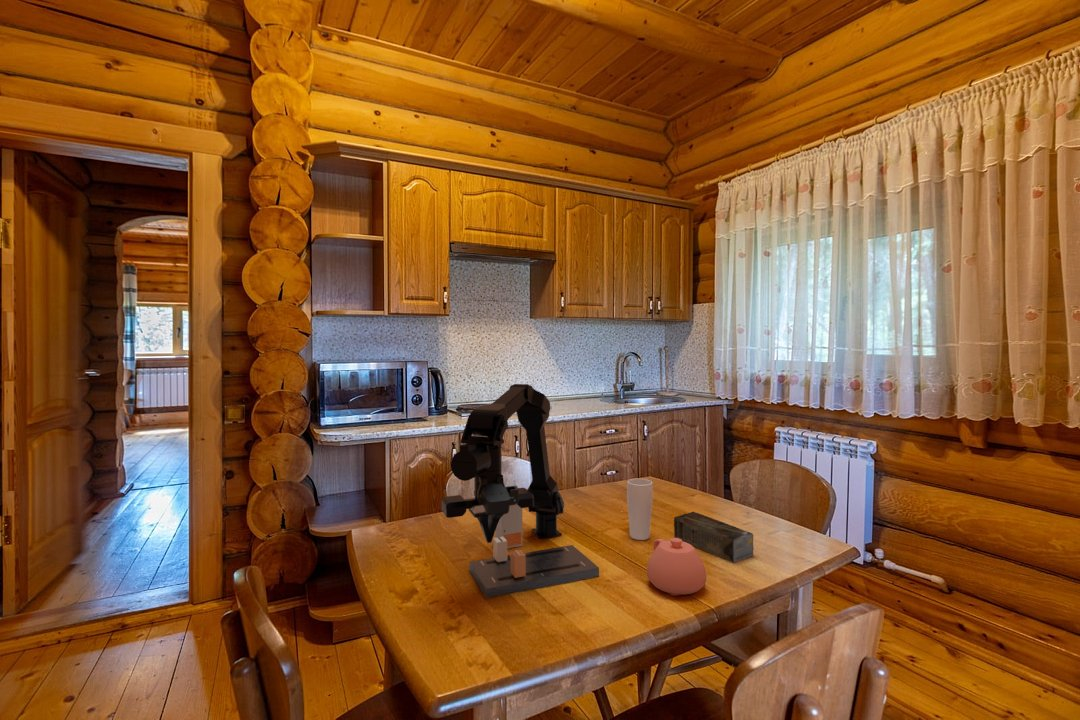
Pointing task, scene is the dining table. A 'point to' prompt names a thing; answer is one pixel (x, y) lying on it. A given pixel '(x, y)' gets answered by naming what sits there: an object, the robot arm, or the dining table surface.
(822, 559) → the dining table surface
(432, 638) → the dining table surface
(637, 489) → the drinking glass
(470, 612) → the dining table surface
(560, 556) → the console
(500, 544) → the white fader
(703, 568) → the pink teapot
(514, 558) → the orange fader
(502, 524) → the skincare box
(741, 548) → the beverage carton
